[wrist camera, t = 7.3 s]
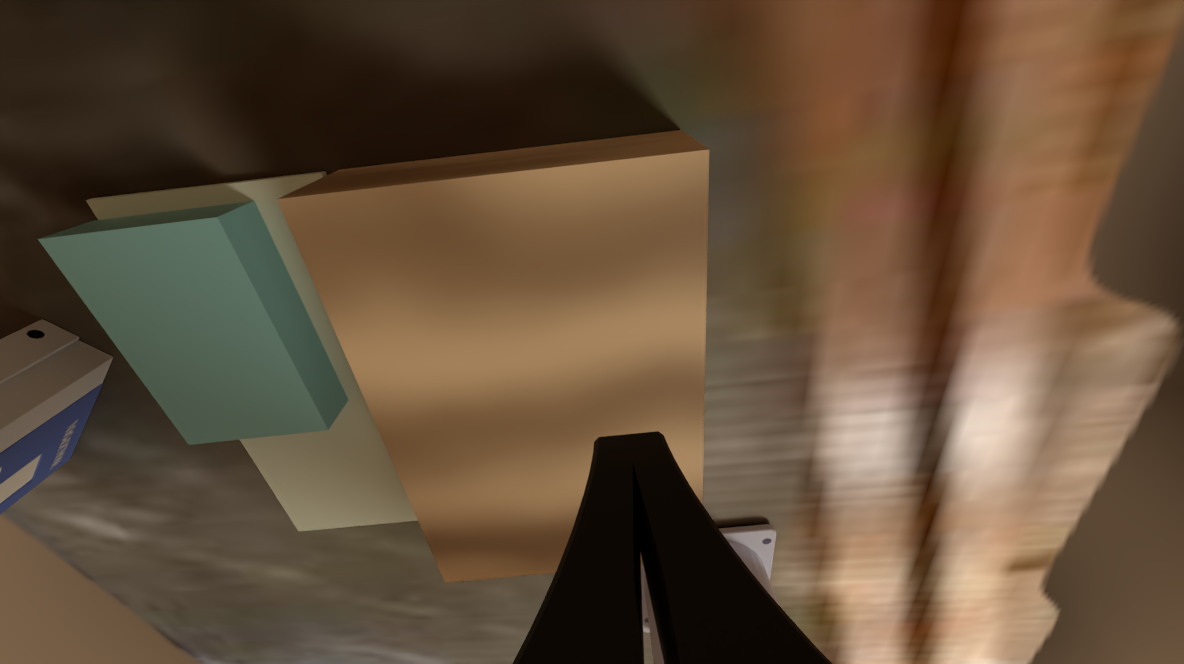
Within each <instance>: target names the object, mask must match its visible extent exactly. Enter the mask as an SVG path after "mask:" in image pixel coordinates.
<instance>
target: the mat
mask: <svg viewBox="0 0 1184 664" xmlns="http://www.w3.org/2000/svg"><path fill="white" fill-rule="evenodd" d="M325 176H327V173H326V171H323V172H315V173H306V174H297V175H289V176H280V177H271V178H263V179H254V180H246V181H237V182H228V183H220V184H211V185H202V186H194V187H185V188H177V189H168V190H159V191H151V192H142V193H133V194H125V195H116V196H108V197H99V198H92V199H89V200H86V202H87V203H88V205H89V206H90V208H91V209H92V211H93V213H94V214H95V216H96V217H97V219H98V220H102V219H110V218H118V217H126V216H135V215H143V214H151V213H159V212H167V211H175V210H183V209H191V208H199V207H207V206H215V205H223V204H231V203H240V202H248V201H255V203H256V205H257V207H258V209H259V211H260V213H261V216H262V218H263V220H264V222H265V224H266V226H267V228H268V230H269V232H270V235H271V237H272V239H273V241H274V243H275V245H276V247H277V249H278V252H279V254H280V256H281V258H282V260H283V262H284V264H285V266H286V268H287V271H288V273H289V275H290V277H291V279H292V281H293V283H294V285H295V288H296V290H297V292H298V294H299V296H300V298H301V300H302V302H303V304H304V307H305V309H306V311H307V313H308V315H309V317H310V319H311V321H312V323H313V326H314V328H315V330H316V332H317V334H318V336H319V338H320V340H321V343H322V345H323V347H324V349H325V351H326V353H327V355H328V357H329V359H330V362H331V364H332V366H333V368H334V370H335V372H336V374H337V376H338V379H339V381H340V383H341V385H342V387H343V389H344V391H345V393H346V395H347V398H348V402H347V403H346V405H345V406H344V408H343V409H342V411H341V412H340V414H339V415H338V417H337V418H336V419H335V421H334V422H333V424H332V425H331V427H330V428H329V430H326V431H316V432H307V433H297V434H288V435H278V436H269V437H259V438H250V439H240V441H241V443H242V444H243V446H244V447H245V449H246V450H247V452H248V454H249V455H250V457H251V458H252V460H253V461H254V463H255V464H256V466H257V468H258V469H259V471H260V472H261V474H262V475H263V477H264V478H265V480H266V481H267V483H268V485H269V486H270V488H271V489H272V491H273V492H274V494H275V495H276V497H277V499H278V500H279V502H280V503H281V505H282V506H283V508H284V509H285V511H286V513H287V514H288V516H289V517H290V519H291V520H292V522H293V523H294V525H295V527H296V528H297V530H298V531H309V530H320V529H331V528H341V527H352V526H363V525H374V524H385V523H396V522H407V521H417V520H418V519H417V517H416V515H415V513H414V510H413V508H412V506H411V504H410V501H409V499H408V497H407V494H406V492H405V490H404V488H403V485H402V483H401V481H400V478H399V476H398V474H397V472H396V469H395V467H394V465H393V463H392V460H391V458H390V456H389V453H388V451H387V449H386V447H385V444H384V442H383V440H382V438H381V435H380V433H379V431H378V428H377V426H376V424H375V422H374V419H373V417H372V415H371V413H370V410H369V408H368V406H367V403H366V401H365V399H364V397H363V394H362V392H361V390H360V387H359V385H358V383H357V381H356V378H355V376H354V374H353V372H352V369H351V367H350V365H349V362H348V360H347V358H346V356H345V353H344V351H343V349H342V347H341V344H340V342H339V340H338V337H337V335H336V333H335V331H334V328H333V326H332V324H331V321H330V319H329V317H328V315H327V312H326V310H325V308H324V306H323V303H322V301H321V299H320V296H319V294H318V292H317V290H316V287H315V285H314V283H313V281H312V278H311V276H310V274H309V271H308V269H307V267H306V265H305V262H304V260H303V258H302V255H301V253H300V251H299V249H298V246H297V244H296V242H295V240H294V237H293V235H292V233H291V230H290V228H289V226H288V224H287V221H286V219H285V217H284V215H283V212H282V210H281V208H280V205H279V203H278V201H277V199H278V198H280V197H282V196H284V195H286V194H289V193H291V192H293V191H295V190H297V189H299V188H301V187H304V186H306V185H308V184H310V183H312V182H314V181H316V180H318V179H321V178H323V177H325Z"/></svg>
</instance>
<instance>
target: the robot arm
mask: <svg viewBox="0 0 1184 664" xmlns="http://www.w3.org/2000/svg"><path fill="white" fill-rule="evenodd" d="M775 540H776V531H775V528H774V527H773V526H772V525H769V524H763V525H752V526H741V527H730V528H718V527H717V526H716V524H715V523H714V521H713V520H712V518H711V517H710V515H709V514H708V512H707V511H706V509H705V508H704V506H703V505H702V503H701V502H700V500H699V499H698V497H697V496H696V494H695V493H694V491H693V489H692V488H691V486H690V485H689V483H688V481H687V480H686V478H685V476H684V474H683V473H682V471H681V469H680V468H679V466H678V464H677V462H676V460H675V458H674V456H673V454H672V452H671V450H670V448H669V446H668V444H667V442H666V439H665V437H664V435H663V434H662V433H660V432H659V431H656V432H645V433H635V434H625V435H614V436H604V437H598V438H597V439H596V440H595V441H594V448H593V456H592V462H591V467H590V472H589V476H588V480H587V484H586V487H585V491H584V495H583V498H582V501H581V504H580V507H579V511H578V514H577V517H576V520H575V523H574V526H573V529H572V532H571V535H570V537H569V540H568V543H567V545H566V548H565V550H564V553H563V555H562V558H561V561H560V563H559V566H558V568H557V571H556V573H555V576H554V578H553V581H552V583H551V585H550V587H549V590H548V592H547V594H546V597H545V599H544V601H543V603H542V605H541V608H540V610H539V612H538V614H537V616H536V618H535V620H534V622H533V624H532V627H531V629H530V631H529V633H528V635H527V637H526V639H525V641H524V643H523V645H522V646H521V648H520V650H519V652H518V654H517V656H516V658H515V660H514V662H513V664H644V645H643V631H644V632H647V633H650V637H651V646H652V654H653V662H654V664H832V663H831V662H830V661H829V660H828V659H827V658H826V657H825V656H824V655H823V654H822V653H821V652H820V651H819V650H818V649H817V647H816V646H815V645H814V644H813V643H812V642H811V641H810V640H809V639H808V638H807V636H806V635H805V634H804V633H803V632H802V631H801V630H800V629H799V628H798V626H797V625H796V624H795V623H794V622H793V621H792V620H791V619H790V618H789V616H788V615H787V614H786V613H785V612H784V611H783V610H782V608H781V607H780V606H779V605H778V602H777V599H776V597H775V594H774V591H773V589H772V586H771V583H770V575H771V568H772V561H773V554H774V547H775ZM640 552H641V553H640ZM641 556H642V561H643V565H641Z"/></svg>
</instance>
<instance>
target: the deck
mask: <svg viewBox="0 0 1184 664" xmlns="http://www.w3.org/2000/svg"><path fill="white" fill-rule="evenodd" d="M708 186H709V149H708V148H706V147H705V146H703V145H702V144H701V143H699V142H698V141H696V140H695V139H693V138H692V137H691V136H689V135H688V134H686V133H685V132H683V131H682V130H677V131H668V132H659V133H651V134H642V135H634V136H625V137H616V138H608V139H599V140H590V141H582V142H573V143H565V144H556V145H547V146H539V147H530V148H521V149H513V150H504V151H496V152H487V153H478V154H470V155H461V156H453V157H444V158H435V159H427V160H418V161H409V162H401V163H392V164H384V165H375V166H366V167H358V168H349V169H340V170H338V171H336V172H333V173H331V174H329V175H327V176H325V177H323V178H321V179H318V180H316V181H314V182H312V183H310V184H308V185H306V186H304V187H301V188H299V189H297V190H295V191H293V192H291V193H289V194H286V195H284V196H282V197H280V198H278V199H277V201H278V203H279V205H280V208H281V210H282V212H283V215H284V217H285V219H286V221H287V224H288V226H289V228H290V230H291V233H292V235H293V237H294V240H295V242H296V244H297V246H298V249H299V251H300V253H301V255H302V258H303V260H304V262H305V265H306V267H307V269H308V271H309V274H310V276H311V278H312V281H313V283H314V285H315V287H316V290H317V292H318V294H319V296H320V299H321V301H322V303H323V306H324V308H325V310H326V312H327V315H328V317H329V319H330V321H331V324H332V326H333V328H334V331H335V333H336V335H337V337H338V340H339V342H340V344H341V347H342V349H343V351H344V353H345V356H346V358H347V360H348V362H349V365H350V367H351V369H352V372H353V374H354V376H355V378H356V381H357V383H358V385H359V387H360V390H361V392H362V394H363V397H364V399H365V401H366V403H367V406H368V408H369V410H370V413H371V415H372V417H373V419H374V422H375V424H376V426H377V428H378V431H379V433H380V435H381V438H382V440H383V442H384V444H385V447H386V449H387V451H388V453H389V456H390V458H391V460H392V463H393V465H394V467H395V469H396V472H397V474H398V476H399V478H400V481H401V483H402V485H403V488H404V490H405V492H406V494H407V497H408V499H409V501H410V504H411V506H412V508H413V510H414V513H415V515H416V517H417V519H418V522H419V524H420V526H421V529H422V531H423V533H424V535H425V538H426V540H427V542H428V544H429V547H430V549H431V551H432V554H433V556H434V558H435V560H436V563H437V565H438V567H439V570H440V572H441V574H442V576H443V579H444V581H445V583H446V582H458V581H469V580H481V579H492V578H504V577H515V576H526V575H538V574H549V573H556V571H557V568H558V566H559V563H560V561H561V558H562V555H563V553H564V550H565V548H566V545H567V543H568V540H569V537H570V535H571V532H572V529H573V526H574V523H575V520H576V517H577V514H578V511H579V507H580V504H581V501H582V498H583V495H584V491H585V487H586V484H587V480H588V476H589V472H590V467H591V462H592V456H593V448H594V441H595V440H596V439H597V438H598V437H604V436H614V435H625V434H635V433H645V432H656V431H659V432H660V433H662V434H663V435H664V437H665V439H666V442H667V444H668V446H669V448H670V450H671V452H672V454H673V456H674V458H675V460H676V462H677V464H678V466H679V468H680V469H681V471H682V473H683V474H684V476H685V478H686V480H687V481H688V483H689V485H690V486H691V488H692V489H693V491H694V493H695V494H696V496H697V497H698V499H699V500H700V502H701V503H702V498H703V446H704V394H705V342H706V290H707V238H708ZM640 553H641V552H640ZM641 565H643V561H642V556H641Z"/></svg>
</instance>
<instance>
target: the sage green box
mask: <svg viewBox="0 0 1184 664" xmlns="http://www.w3.org/2000/svg"><path fill="white" fill-rule="evenodd" d="M38 240H39V242H40V243H41V244H42V246H43V247H44V248H45V250H46V251H47V253H48V254H49V255H50V257H51V258H52V259H53V261H54V262H55V263H56V265H57V266H58V268H59V269H60V270H61V272H62V273H63V274H64V276H65V277H66V278H67V280H68V281H69V283H70V284H71V285H72V287H73V288H74V289H75V291H76V292H77V293H78V295H79V296H80V298H81V299H82V300H83V302H84V303H85V304H86V306H87V307H88V308H89V310H90V311H91V313H92V314H93V315H94V317H95V318H96V319H97V321H98V322H99V323H100V325H101V326H102V328H103V329H104V330H105V332H106V333H107V334H108V336H109V337H110V338H111V340H112V341H113V343H114V344H115V345H116V347H117V348H118V349H119V351H120V352H121V353H122V355H123V356H124V358H125V359H126V360H127V362H128V363H129V364H130V366H131V367H132V368H133V370H134V371H135V373H136V374H137V375H138V377H139V378H140V379H141V381H142V382H143V383H144V385H145V386H146V388H147V389H148V390H149V392H150V393H151V394H152V396H153V397H154V398H155V400H156V401H157V403H158V404H159V405H160V407H161V408H162V409H163V411H164V412H165V413H166V415H167V416H168V418H169V419H170V420H171V422H172V423H173V424H174V426H175V427H176V428H177V430H178V431H179V432H180V434H181V435H182V437H183V438H184V439H185V441H186V442H187V443H188V445H193V444H202V443H212V442H221V441H231V440H240V439H250V438H259V437H269V436H278V435H288V434H297V433H307V432H316V431H326V430H329V428H330V427H331V425H332V424H333V422H334V421H335V419H336V418H337V417H338V415H339V414H340V412H341V411H342V409H343V408H344V406H345V405H346V403H347V402H348V398H347V395H346V393H345V391H344V389H343V387H342V385H341V383H340V381H339V379H338V376H337V374H336V372H335V370H334V368H333V366H332V364H331V362H330V359H329V357H328V355H327V353H326V351H325V349H324V347H323V345H322V343H321V340H320V338H319V336H318V334H317V332H316V330H315V328H314V326H313V323H312V321H311V319H310V317H309V315H308V313H307V311H306V309H305V307H304V304H303V302H302V300H301V298H300V296H299V294H298V292H297V290H296V288H295V285H294V283H293V281H292V279H291V277H290V275H289V273H288V271H287V268H286V266H285V264H284V262H283V260H282V258H281V256H280V254H279V252H278V249H277V247H276V245H275V243H274V241H273V239H272V237H271V235H270V232H269V230H268V228H267V226H266V224H265V222H264V220H263V218H262V216H261V213H260V211H259V209H258V207H257V205H256V203H255V201H248V202H240V203H231V204H223V205H215V206H207V207H199V208H191V209H183V210H175V211H167V212H159V213H151V214H143V215H135V216H126V217H118V218H110V219H102V220H94V221H90V222H87V223H84V224H81V225H78V226H75V227H72V228H69V229H66V230H63V231H60V232H57V233H55V234H52V235H49V236H46V237H43V238H40V239H38Z"/></svg>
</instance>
